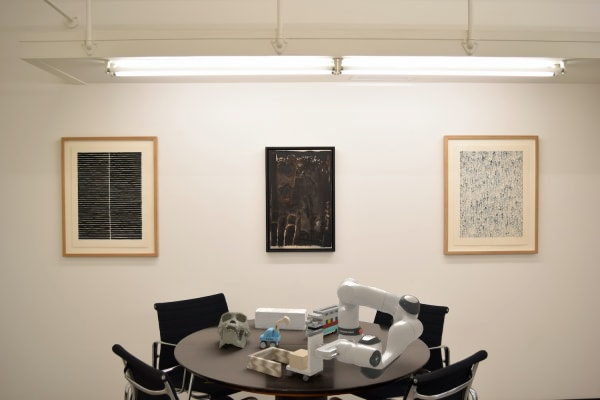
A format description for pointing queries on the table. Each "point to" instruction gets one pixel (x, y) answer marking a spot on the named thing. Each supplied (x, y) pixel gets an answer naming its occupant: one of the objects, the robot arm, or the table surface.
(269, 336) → the toy excavator
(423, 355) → the table surface
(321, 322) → the toy vehicle
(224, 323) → the skull
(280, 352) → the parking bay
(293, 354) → the trolley
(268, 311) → the long white block
